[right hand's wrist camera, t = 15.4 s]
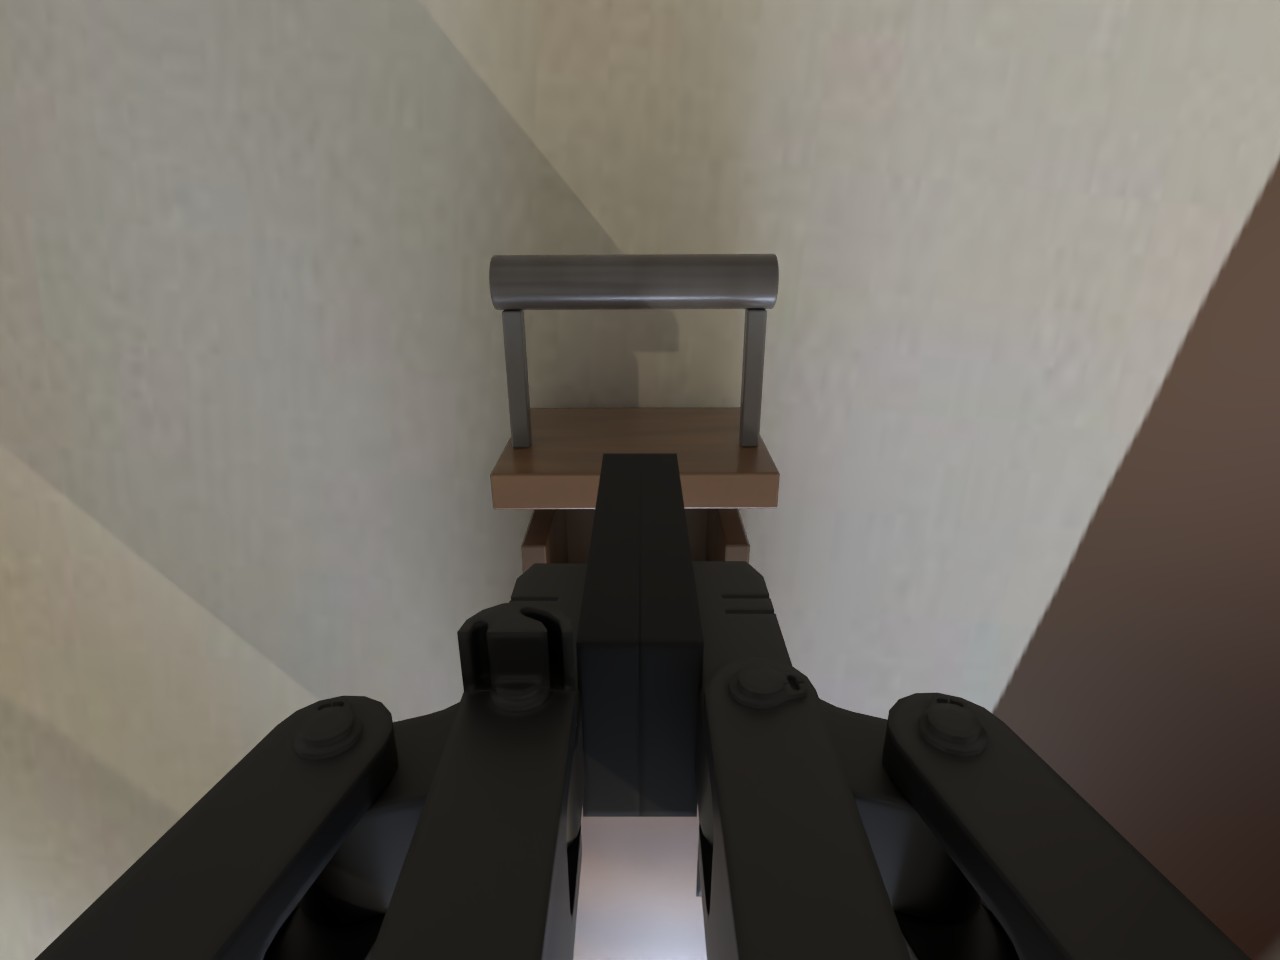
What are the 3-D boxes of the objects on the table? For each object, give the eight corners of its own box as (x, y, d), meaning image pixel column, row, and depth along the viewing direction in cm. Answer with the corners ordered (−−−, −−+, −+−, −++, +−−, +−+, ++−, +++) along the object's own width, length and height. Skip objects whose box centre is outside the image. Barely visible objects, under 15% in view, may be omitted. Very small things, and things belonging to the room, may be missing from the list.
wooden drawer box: (528, 597, 32) (489, 738, 24) (746, 596, 32) (784, 737, 24) (550, 887, 39) (525, 1076, 31) (729, 887, 39) (753, 1076, 31)
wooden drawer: (515, 246, 26) (470, 262, 19) (755, 244, 26) (795, 261, 19) (549, 753, 34) (526, 888, 28) (728, 753, 34) (749, 887, 28)
